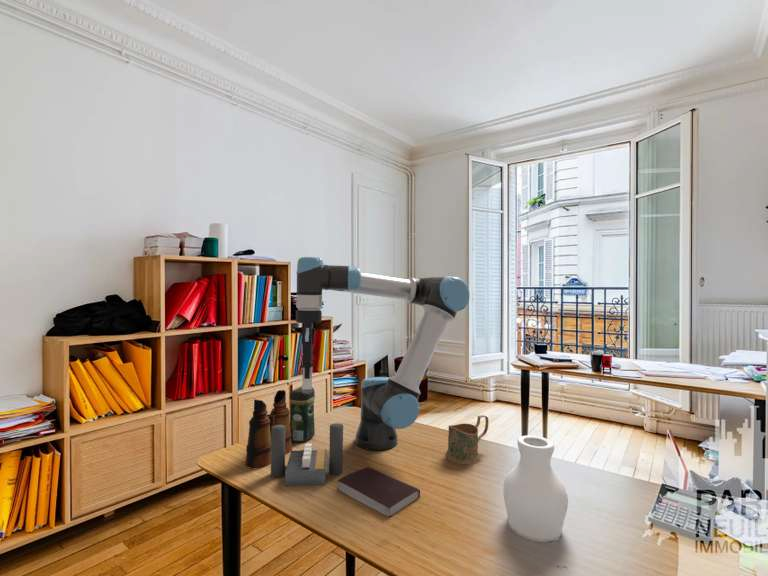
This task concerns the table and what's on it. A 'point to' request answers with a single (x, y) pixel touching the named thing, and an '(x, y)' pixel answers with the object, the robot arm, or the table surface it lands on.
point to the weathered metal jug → (464, 442)
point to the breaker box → (306, 469)
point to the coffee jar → (302, 414)
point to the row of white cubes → (307, 455)
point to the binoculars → (266, 431)
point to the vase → (535, 492)
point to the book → (378, 490)
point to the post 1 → (277, 451)
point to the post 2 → (336, 449)
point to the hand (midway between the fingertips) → (307, 388)
